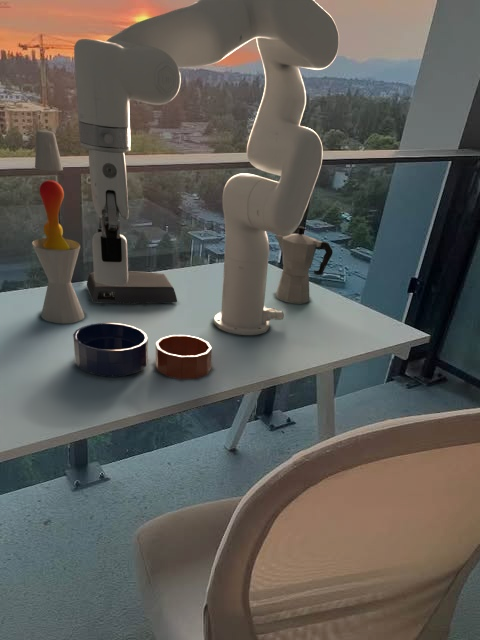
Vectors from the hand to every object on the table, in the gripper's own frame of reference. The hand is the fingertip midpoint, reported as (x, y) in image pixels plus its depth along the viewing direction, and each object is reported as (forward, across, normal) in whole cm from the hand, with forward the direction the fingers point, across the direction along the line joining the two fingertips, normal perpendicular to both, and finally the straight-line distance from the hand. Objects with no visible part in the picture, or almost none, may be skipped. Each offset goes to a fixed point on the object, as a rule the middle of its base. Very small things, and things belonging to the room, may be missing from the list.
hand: (110, 256), depth 106 cm
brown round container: (+20, -2, -12) cm, 24 cm away
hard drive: (+20, +38, -8) cm, 43 cm away
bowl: (+20, 0, 0) cm, 20 cm away
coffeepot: (+20, +36, -50) cm, 65 cm away
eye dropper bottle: (+5, 0, 0) cm, 5 cm away
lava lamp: (+20, +25, +8) cm, 33 cm away
